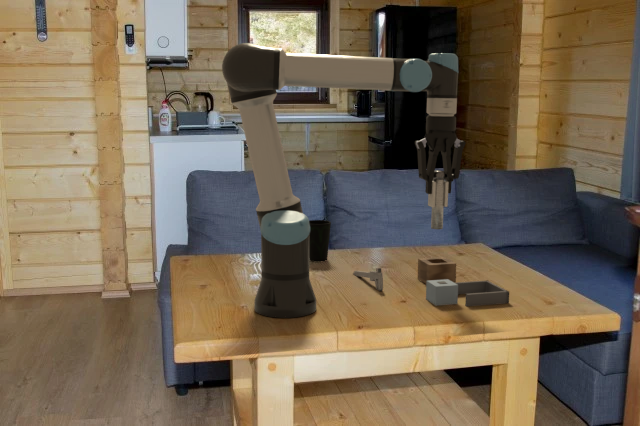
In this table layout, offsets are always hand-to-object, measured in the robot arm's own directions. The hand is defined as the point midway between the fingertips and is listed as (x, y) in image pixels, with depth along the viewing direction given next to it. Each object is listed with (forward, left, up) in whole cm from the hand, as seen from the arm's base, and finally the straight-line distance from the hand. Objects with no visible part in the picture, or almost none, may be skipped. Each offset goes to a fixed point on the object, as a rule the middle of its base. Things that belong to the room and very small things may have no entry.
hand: (437, 205), depth 199 cm
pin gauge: (0, 0, -6) cm, 6 cm away
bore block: (+5, +11, -23) cm, 26 cm away
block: (-2, -8, -23) cm, 25 cm away
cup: (-20, +45, -23) cm, 54 cm away
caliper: (-14, +15, -24) cm, 31 cm away
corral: (+8, -8, -23) cm, 26 cm away
